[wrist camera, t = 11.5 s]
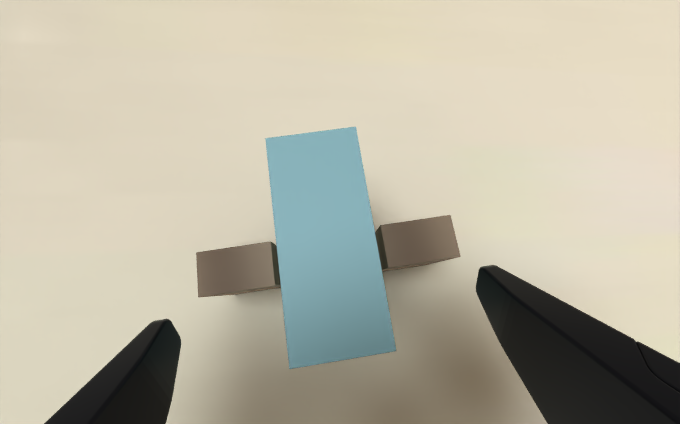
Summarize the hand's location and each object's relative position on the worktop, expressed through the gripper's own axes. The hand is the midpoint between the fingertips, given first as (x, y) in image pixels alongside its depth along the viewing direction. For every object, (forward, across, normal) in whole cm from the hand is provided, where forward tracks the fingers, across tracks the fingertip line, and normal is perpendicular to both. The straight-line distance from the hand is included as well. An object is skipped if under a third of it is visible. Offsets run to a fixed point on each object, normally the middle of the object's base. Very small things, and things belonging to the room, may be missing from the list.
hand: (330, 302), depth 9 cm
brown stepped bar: (+8, 0, +6) cm, 10 cm away
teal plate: (+8, 0, +6) cm, 10 cm away
